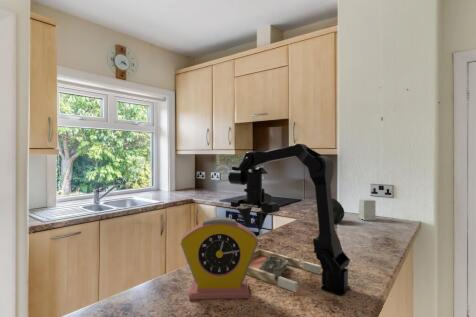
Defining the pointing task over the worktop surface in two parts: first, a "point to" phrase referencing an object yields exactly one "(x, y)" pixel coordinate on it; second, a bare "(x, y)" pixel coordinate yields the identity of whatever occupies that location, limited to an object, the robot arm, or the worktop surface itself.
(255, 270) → the channel
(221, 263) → the retro mantel clock
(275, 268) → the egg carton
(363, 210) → the supplement box
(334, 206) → the squash
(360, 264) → the worktop surface
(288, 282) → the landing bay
